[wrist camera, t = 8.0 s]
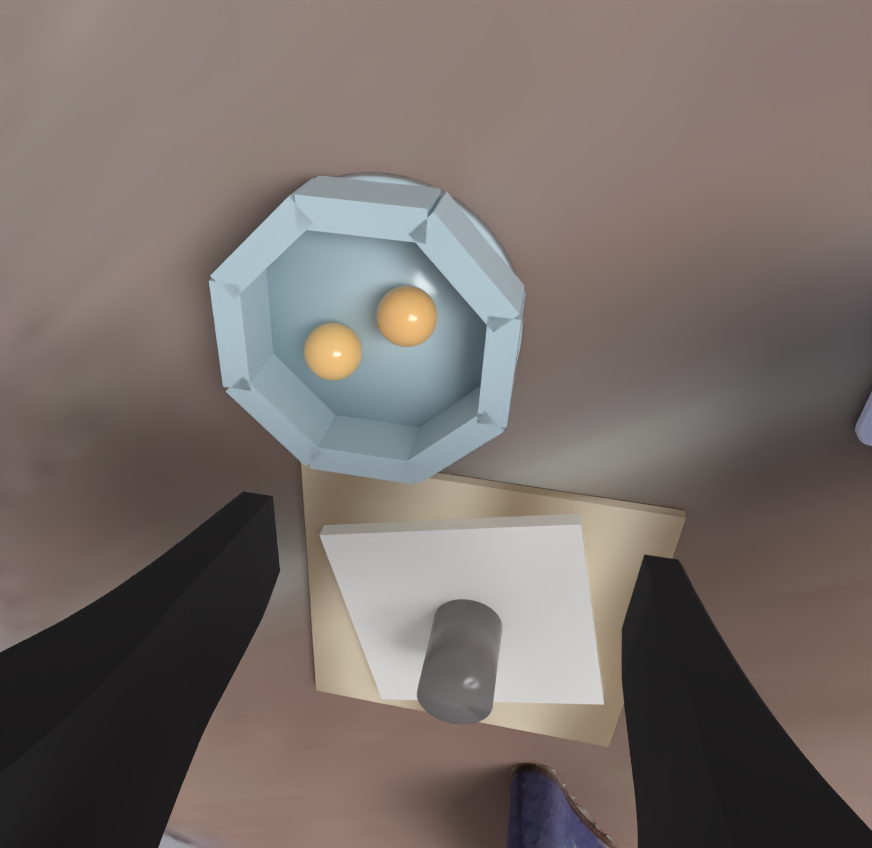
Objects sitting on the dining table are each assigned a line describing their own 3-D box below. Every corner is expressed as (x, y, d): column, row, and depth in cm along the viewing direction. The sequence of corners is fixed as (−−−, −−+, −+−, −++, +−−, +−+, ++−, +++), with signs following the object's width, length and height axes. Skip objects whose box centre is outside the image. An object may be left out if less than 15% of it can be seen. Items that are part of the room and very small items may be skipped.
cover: (581, 513, 25) (580, 600, 21) (603, 692, 30) (606, 787, 27) (324, 525, 27) (286, 605, 24) (384, 688, 33) (361, 773, 29)
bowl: (542, 188, 19) (536, 218, 17) (506, 448, 24) (498, 498, 22) (237, 157, 20) (193, 181, 18) (263, 413, 26) (231, 457, 23)
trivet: (684, 510, 25) (685, 517, 24) (608, 739, 32) (608, 747, 32) (304, 452, 26) (300, 458, 26) (318, 683, 34) (315, 690, 34)
